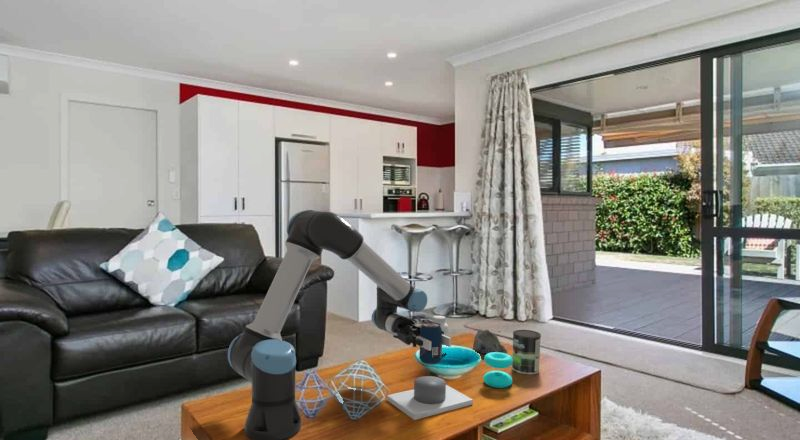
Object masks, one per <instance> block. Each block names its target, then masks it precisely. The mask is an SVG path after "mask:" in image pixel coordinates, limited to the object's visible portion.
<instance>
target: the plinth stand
mask: <svg viewBox="0 0 800 440" xmlns="http://www.w3.org/2000/svg"><path fill="white" fill-rule="evenodd" d="M413 383H414V384H413V389H409V390H404V391H399V392H396V393H391V394H387V395H386V400H387V402H389V403H390V404H392V405H393V406H395V407H396V408H397V409H399V410H400V411H402V412H403V413H404V414H405V415H407V416H408V417H409V418H411V419H412V420H413V421H416V420H420V419H423V418H427V417H431V416H435V415H439V414H442V413H446V412H450V411H452V410H458V409H461V408H464V407H468V406H472V405H474V400H473V399H472V398H471V397H470V396H467V395H465V394H464V393H462V392H460V391H459V390H457V389H454V388H453V387H451V386H450V385H447V382H446V380H445V379H443V378H441V377H438V376H434V375H433V376H432V375H427V376H426V375H425V376H419V377H417V378H415V379H414V381H413Z"/></svg>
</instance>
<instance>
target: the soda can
mask: <svg viewBox="0 0 800 440" xmlns="http://www.w3.org/2000/svg"><path fill="white" fill-rule="evenodd" d="M420 337H423V338H425V339H427V340H429V341H431V350H430V351H429V350H427V349H425V348H423V347H421V346H419V359H420V362H421V364H423V365H429V366H435V365H438V364H439V363H440V362H441V360H442V355H443V354H442V329H441V327H440V324H439V323H435V322H433V321H426V322H423V323H422V324H421V328H420Z"/></svg>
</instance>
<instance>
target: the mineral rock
mask: <svg viewBox="0 0 800 440" xmlns="http://www.w3.org/2000/svg"><path fill="white" fill-rule="evenodd" d="M473 350H475V351H477V352H476V353H480V354H485V355H486V354H488V353H491V352H500V353H505V354H508V352H509V351H508V350H507V349H506V347H505V346H504V345H503V344H502V343H501V341H500V340H499V338H498V336H497V335H496V334H494V333H493V332H491V331H490V330H488V329H485V330H477V332H476V334H475V337H474V340H473V343H472V351H473Z"/></svg>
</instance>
